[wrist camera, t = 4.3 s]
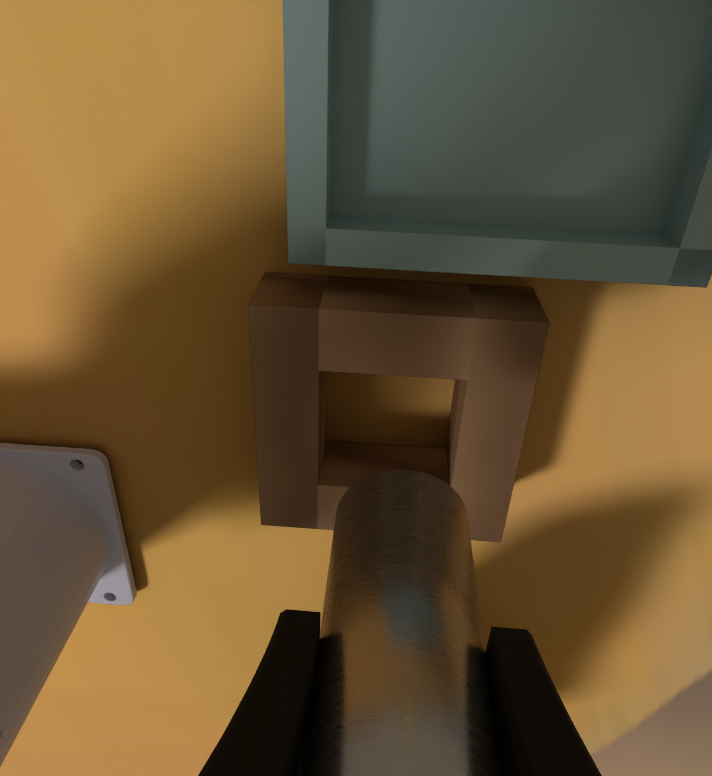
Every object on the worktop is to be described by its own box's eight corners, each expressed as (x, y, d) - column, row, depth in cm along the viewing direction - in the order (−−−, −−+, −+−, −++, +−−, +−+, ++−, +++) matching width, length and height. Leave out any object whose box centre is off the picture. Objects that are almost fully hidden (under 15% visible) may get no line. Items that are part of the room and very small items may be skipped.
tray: (297, 241, 18) (288, 263, 17) (293, -106, 14) (280, -121, 12) (680, 263, 18) (706, 287, 16) (793, -87, 14) (844, -99, 12)
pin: (334, 562, 15) (260, 1140, 7) (337, 464, 13) (250, 1072, 6) (458, 572, 15) (516, 1171, 7) (477, 475, 13) (575, 1108, 6)
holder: (273, 478, 23) (261, 524, 21) (265, 272, 19) (248, 304, 17) (492, 494, 23) (501, 542, 21) (533, 288, 18) (549, 322, 16)
